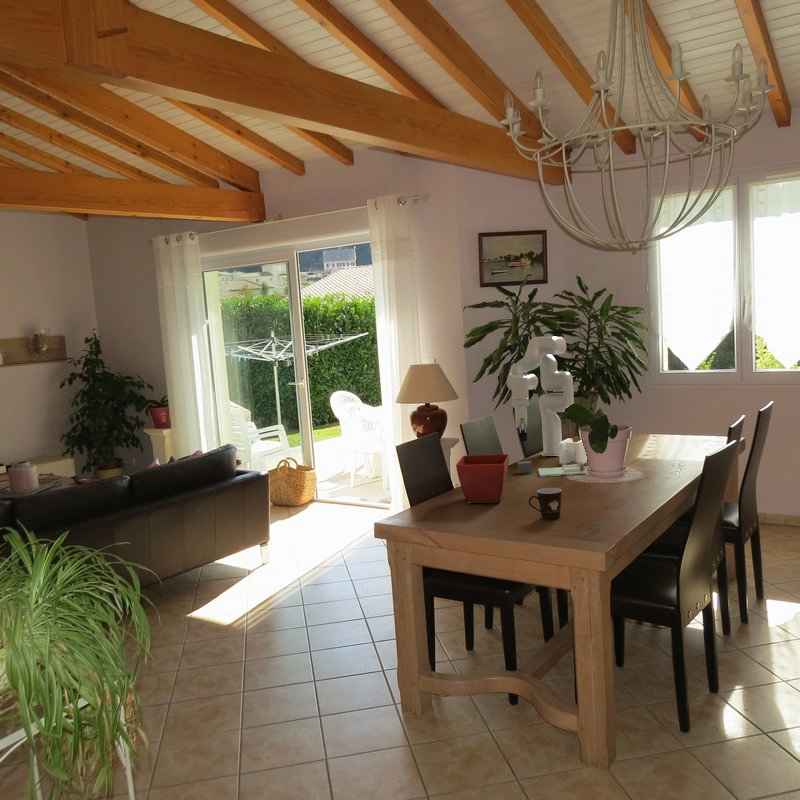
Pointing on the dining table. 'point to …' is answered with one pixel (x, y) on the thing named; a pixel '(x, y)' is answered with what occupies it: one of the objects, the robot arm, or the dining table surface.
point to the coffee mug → (549, 503)
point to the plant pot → (483, 477)
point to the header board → (562, 470)
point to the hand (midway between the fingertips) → (523, 439)
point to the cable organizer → (571, 452)
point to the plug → (525, 467)
